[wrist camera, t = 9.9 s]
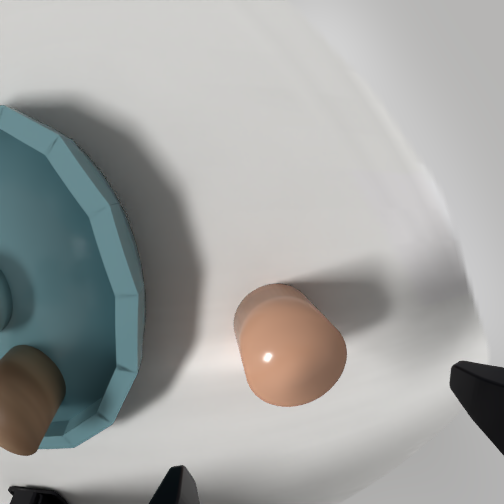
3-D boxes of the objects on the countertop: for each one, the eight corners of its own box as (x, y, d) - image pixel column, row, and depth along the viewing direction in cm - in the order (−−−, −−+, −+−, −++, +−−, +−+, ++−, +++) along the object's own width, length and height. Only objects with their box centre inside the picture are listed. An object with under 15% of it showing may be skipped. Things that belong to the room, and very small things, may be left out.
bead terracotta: (318, 343, 17) (351, 386, 13) (245, 366, 17) (260, 418, 13) (304, 273, 16) (339, 303, 12) (223, 297, 16) (232, 337, 12)
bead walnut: (34, 412, 14) (7, 459, 10) (-6, 357, 13) (-44, 396, 9) (79, 397, 15) (55, 449, 10) (36, 334, 14) (-4, 377, 9)
